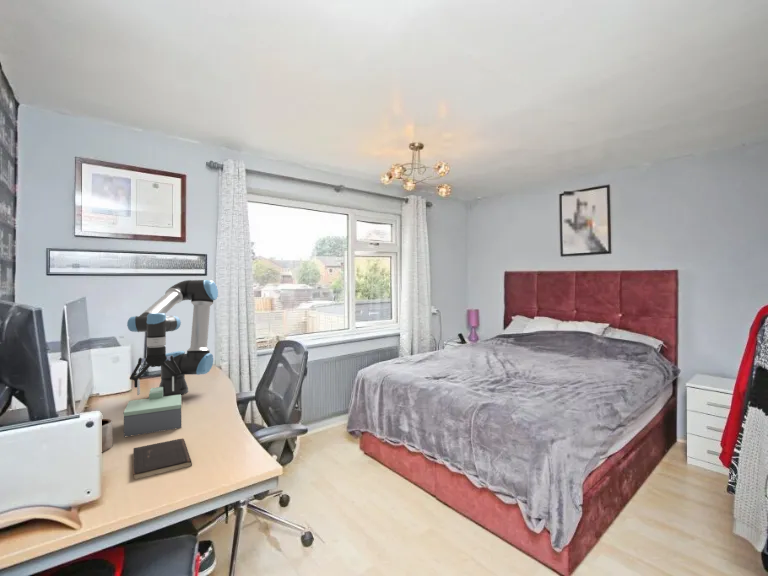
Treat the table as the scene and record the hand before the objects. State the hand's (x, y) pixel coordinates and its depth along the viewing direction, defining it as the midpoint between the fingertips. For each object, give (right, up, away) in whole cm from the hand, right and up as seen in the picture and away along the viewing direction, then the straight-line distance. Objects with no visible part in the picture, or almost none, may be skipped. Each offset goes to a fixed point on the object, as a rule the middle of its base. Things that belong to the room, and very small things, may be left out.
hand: (156, 392), depth 172 cm
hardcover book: (+29, -11, -44) cm, 54 cm away
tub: (+7, -11, -12) cm, 17 cm away
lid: (+5, -4, -8) cm, 10 cm away
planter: (0, -11, -36) cm, 38 cm away
